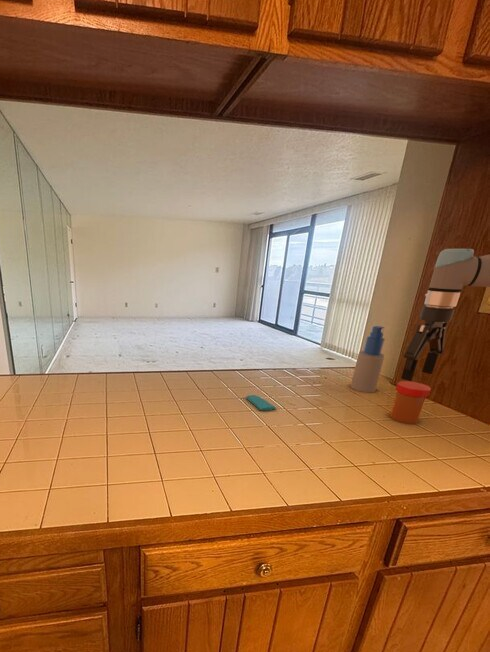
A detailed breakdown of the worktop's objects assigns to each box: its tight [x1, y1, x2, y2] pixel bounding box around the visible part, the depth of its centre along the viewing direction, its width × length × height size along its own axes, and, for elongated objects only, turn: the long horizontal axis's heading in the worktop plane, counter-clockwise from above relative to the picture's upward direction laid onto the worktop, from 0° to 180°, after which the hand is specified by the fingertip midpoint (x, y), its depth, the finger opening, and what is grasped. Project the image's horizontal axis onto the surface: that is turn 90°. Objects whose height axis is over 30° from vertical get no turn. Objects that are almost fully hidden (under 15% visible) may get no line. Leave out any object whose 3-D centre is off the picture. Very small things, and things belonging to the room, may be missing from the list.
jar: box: [389, 390, 427, 425], centre depth 112 cm, size 8×8×11 cm
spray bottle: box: [350, 325, 385, 393], centre depth 136 cm, size 9×9×25 cm
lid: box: [395, 380, 432, 398], centre depth 110 cm, size 9×9×2 cm
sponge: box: [246, 394, 276, 411], centre depth 123 cm, size 2×12×6 cm
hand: (416, 376), depth 108 cm, fingers open, 13 cm apart
